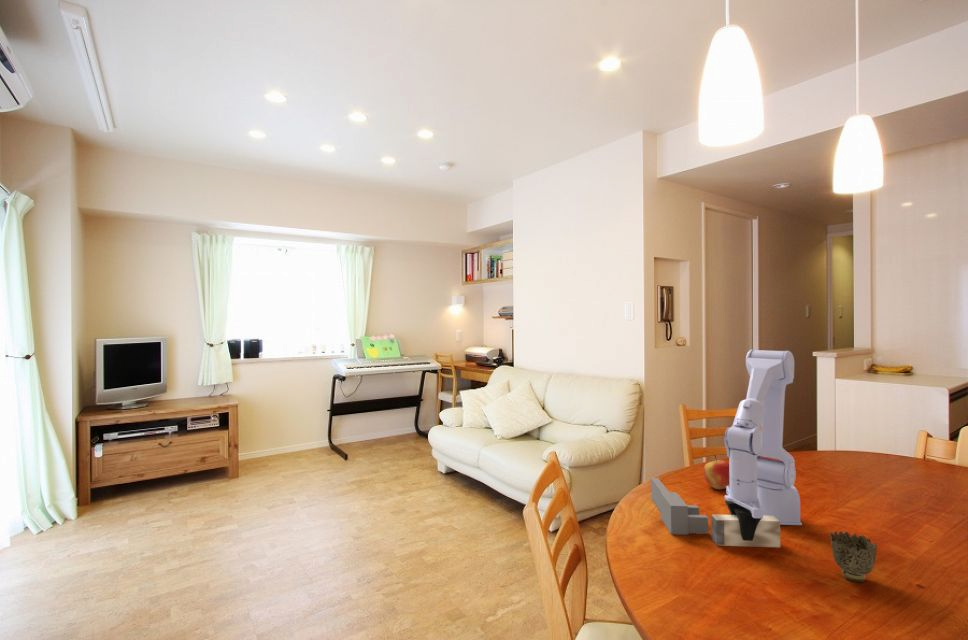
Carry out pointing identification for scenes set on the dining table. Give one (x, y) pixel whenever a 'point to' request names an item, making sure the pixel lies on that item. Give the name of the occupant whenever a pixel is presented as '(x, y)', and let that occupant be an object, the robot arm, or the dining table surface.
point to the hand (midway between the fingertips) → (743, 536)
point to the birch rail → (729, 533)
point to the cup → (853, 555)
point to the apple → (717, 474)
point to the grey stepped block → (677, 511)
